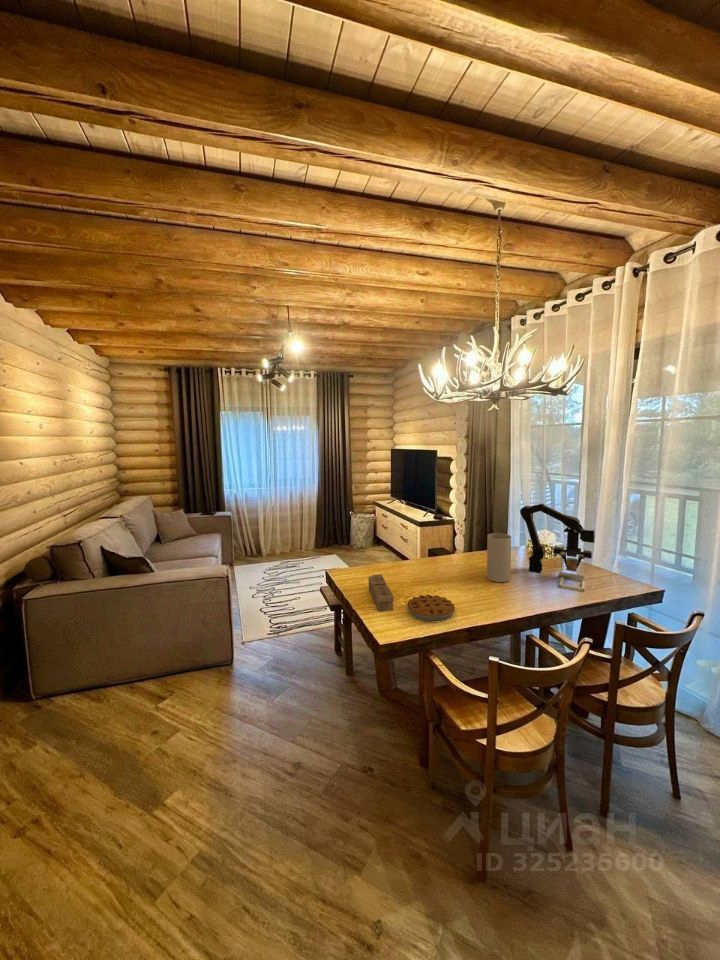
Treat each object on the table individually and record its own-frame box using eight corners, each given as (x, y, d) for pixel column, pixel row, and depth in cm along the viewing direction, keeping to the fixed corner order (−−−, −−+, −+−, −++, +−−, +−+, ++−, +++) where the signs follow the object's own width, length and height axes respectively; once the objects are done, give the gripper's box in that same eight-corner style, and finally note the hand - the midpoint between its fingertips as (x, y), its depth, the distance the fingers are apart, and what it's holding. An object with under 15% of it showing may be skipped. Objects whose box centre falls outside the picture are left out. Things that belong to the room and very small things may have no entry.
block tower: (368, 590, 201) (377, 613, 172) (367, 575, 200) (376, 595, 171) (382, 589, 202) (393, 612, 173) (382, 574, 201) (393, 594, 172)
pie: (463, 620, 163) (463, 610, 163) (417, 627, 159) (417, 616, 158) (442, 600, 185) (442, 590, 184) (401, 605, 180) (400, 595, 180)
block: (566, 570, 209) (566, 559, 208) (566, 567, 213) (567, 557, 212) (576, 571, 206) (576, 561, 205) (576, 568, 210) (577, 558, 210)
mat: (558, 578, 209) (558, 577, 209) (560, 572, 217) (560, 572, 217) (583, 582, 202) (583, 581, 202) (583, 576, 211) (583, 575, 211)
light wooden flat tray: (559, 587, 197) (559, 584, 196) (561, 579, 207) (561, 576, 207) (584, 591, 190) (584, 588, 190) (584, 583, 201) (584, 580, 201)
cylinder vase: (504, 574, 216) (505, 532, 213) (514, 582, 204) (515, 538, 201) (483, 575, 216) (484, 533, 213) (491, 583, 203) (492, 539, 201)
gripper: (552, 541, 206) (551, 568, 208) (592, 546, 196) (590, 574, 198) (554, 536, 215) (553, 562, 217) (592, 541, 205) (590, 568, 207)
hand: (571, 566), depth 209 cm, fingers closed on block, 5 cm apart
